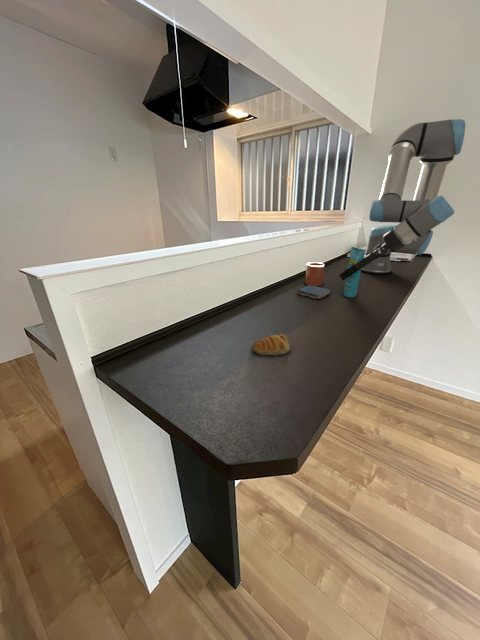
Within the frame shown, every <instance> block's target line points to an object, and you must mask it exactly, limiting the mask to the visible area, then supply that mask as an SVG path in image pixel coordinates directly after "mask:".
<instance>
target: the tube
mask: <svg viewBox="0 0 480 640" xmlns="http://www.w3.org/2000/svg"><path fill="white" fill-rule="evenodd" d="M365 255H366V249H363V248H358V247H353V246H351V250H350V256H349V260H348V267H347V268H350V267H351V266H353V265H352V264H353V263H354V264H356V263H358V262H359V261H361V260H362V259H363V258H364V257H365ZM361 272H362V271H361V269H360V270H359V271H357V272H355V273H354V274H352V275H351V276H349V277H348V278H346V279H345V282H344V288H343V292H342V293H343V294H342V295H343V296H344V297H346V298H356V296H357V292H358V287H359V282H360V278H361Z"/></svg>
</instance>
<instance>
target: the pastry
mask: <svg viewBox="0 0 480 640" xmlns="http://www.w3.org/2000/svg"><path fill="white" fill-rule="evenodd" d="M252 351H253V352H255V353H256V354H258V355H260V356H261V355H262V356H279V355H285V354H286V353H288V352H289V351H290V344H289V339H288V338H287V336H286V335H285V334H282V333H280V334H274V335H273V334H272V335H266V337H264V338H261V339H259V340H257V341H255V342H254V343H253V345H252Z"/></svg>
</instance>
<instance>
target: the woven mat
mask: <svg viewBox="0 0 480 640" xmlns="http://www.w3.org/2000/svg"><path fill="white" fill-rule="evenodd" d="M330 290H331V289H329V288H325V287H321V286H314V285H313V286H312V285H306V286H304V287H302V288H299V289H298V291H297V294H299V295H300V296H304V297H306V296H308V297H309V298H313V299H320V300H321V299H322V298H323V297H326V296H327V295H330V293H331V292H330Z"/></svg>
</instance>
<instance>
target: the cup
mask: <svg viewBox="0 0 480 640" xmlns="http://www.w3.org/2000/svg"><path fill="white" fill-rule="evenodd" d="M325 267H326V265H325V263H322V262H307V263H306V270H305V279H304V284H305V285H306V286H308V285H312V286H313V285H314V286H316V287H321V286H322V285H323V283H324V282H323V281H324V274H325Z"/></svg>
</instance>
